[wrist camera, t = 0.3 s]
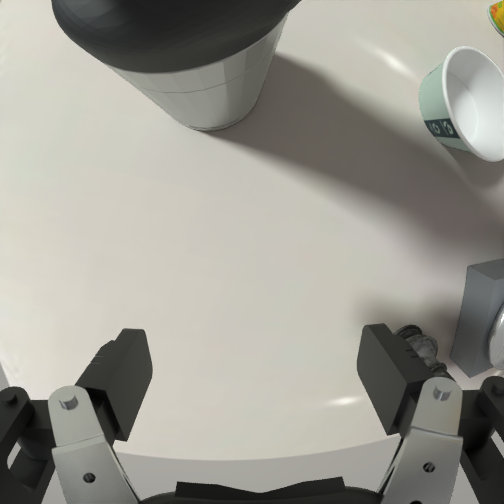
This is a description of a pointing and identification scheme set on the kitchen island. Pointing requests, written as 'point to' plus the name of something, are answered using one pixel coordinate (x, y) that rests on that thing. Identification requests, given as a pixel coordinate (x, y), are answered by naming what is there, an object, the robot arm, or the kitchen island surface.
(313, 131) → the kitchen island surface
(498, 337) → the scale pan
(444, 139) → the food container
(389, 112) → the kitchen island surface
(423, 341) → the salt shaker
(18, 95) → the kitchen island surface
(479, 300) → the kitchen scale
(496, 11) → the supplement bottle
